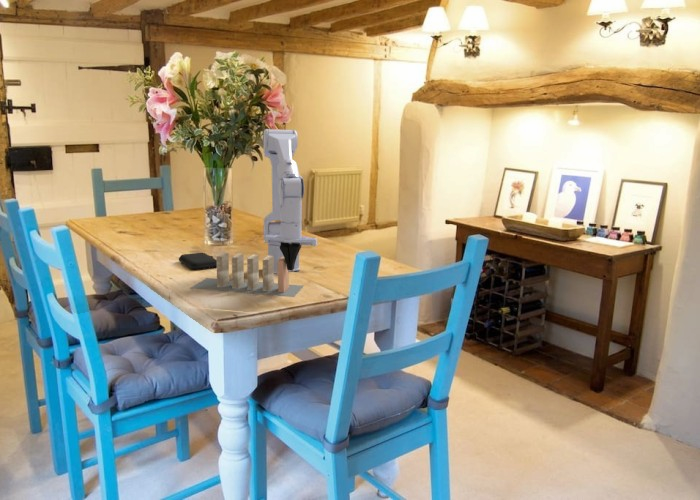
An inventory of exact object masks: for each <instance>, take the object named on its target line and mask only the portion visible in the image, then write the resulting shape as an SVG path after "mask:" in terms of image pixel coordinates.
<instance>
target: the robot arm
mask: <svg viewBox="0 0 700 500" xmlns="http://www.w3.org/2000/svg"><path fill="white" fill-rule="evenodd" d="M298 137H299V136H298V132H297V131H296V129H272V128H271V129H268V128H265V129H264V131H263V136H262V142H263V154H264V157H266V158H268V159H269V162H270V166H271V197H272V198H271V201H272V202H271V203H272V207H271V208H272V209H271V212H270V213H267V215H266V216H265V217H264V219H263V228H262V232H263V240H264V244H267V256H274V275H276V274H277V275H278V270H277V260H279V259H280V258H281V257H284V258H285V261H286V265H287V270H288V273H289V272H297V271H301V268H300V250H301V248H302V246H312V247H317V246H318V238H317V237H310V236H305V235H304V236H303V235H302V220H303V219H302V218H303V217H302V216H303V215H302V212H303V209H302V208H303V206H302V205H303V199H304V195H305V182H304V178H303V177H302V175H300V171H299V167H298V163H297V162H296V161H295V160H293V157H294V155H295V154H296V150H297V148H298V141H299V140H298V139H299V138H298Z"/></svg>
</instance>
